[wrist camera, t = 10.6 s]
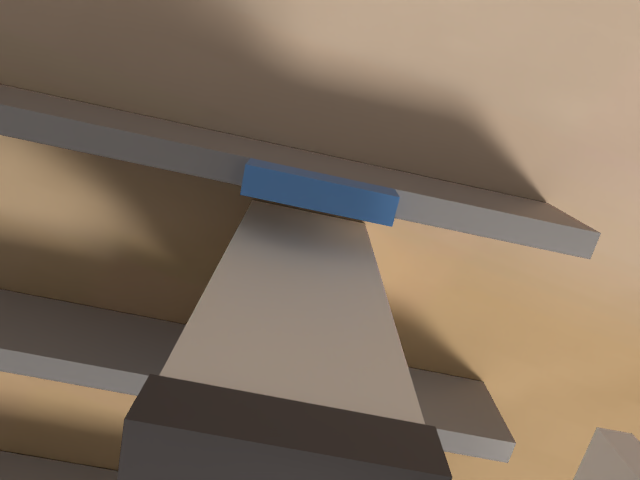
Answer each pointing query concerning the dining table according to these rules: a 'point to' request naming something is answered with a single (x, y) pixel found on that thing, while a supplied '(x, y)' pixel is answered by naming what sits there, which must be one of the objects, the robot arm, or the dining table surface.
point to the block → (285, 368)
